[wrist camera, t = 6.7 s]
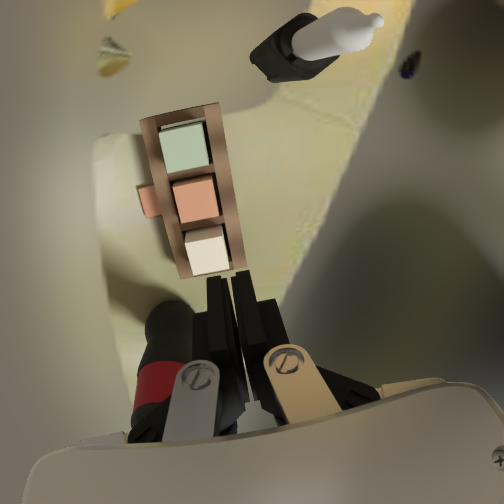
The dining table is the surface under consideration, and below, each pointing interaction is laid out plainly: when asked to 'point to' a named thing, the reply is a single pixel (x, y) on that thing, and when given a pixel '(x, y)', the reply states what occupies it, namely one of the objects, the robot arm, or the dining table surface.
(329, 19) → the candle
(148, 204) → the tile
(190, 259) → the cream button
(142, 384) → the cola bottle
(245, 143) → the dining table surface
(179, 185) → the terracotta button
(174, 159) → the sage button
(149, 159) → the walnut console
